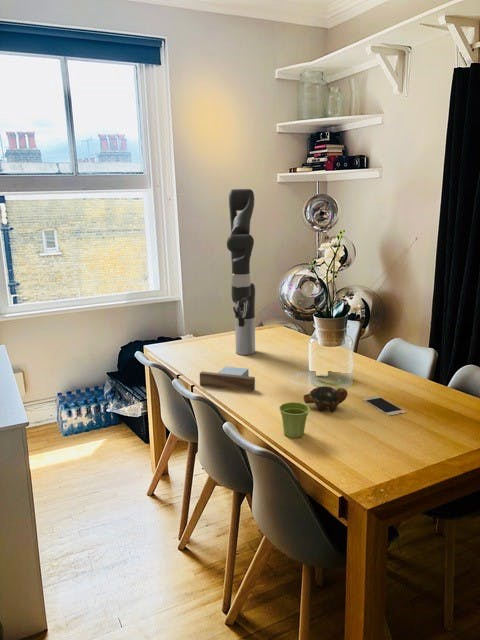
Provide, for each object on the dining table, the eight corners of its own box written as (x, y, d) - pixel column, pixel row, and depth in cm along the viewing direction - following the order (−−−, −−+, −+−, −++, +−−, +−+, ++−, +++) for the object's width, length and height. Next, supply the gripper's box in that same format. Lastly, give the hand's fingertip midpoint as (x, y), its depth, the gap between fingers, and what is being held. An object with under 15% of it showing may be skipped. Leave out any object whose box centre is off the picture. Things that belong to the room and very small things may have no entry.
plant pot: (310, 428, 165) (311, 403, 163) (307, 442, 156) (308, 415, 154) (281, 426, 167) (281, 401, 165) (276, 439, 158) (276, 412, 156)
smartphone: (389, 417, 173) (389, 414, 173) (362, 401, 187) (362, 398, 187) (406, 414, 176) (406, 411, 175) (378, 398, 190) (378, 395, 189)
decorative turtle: (348, 415, 175) (347, 393, 172) (303, 415, 178) (301, 393, 175) (347, 402, 184) (347, 381, 182) (304, 402, 187) (303, 382, 185)
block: (225, 376, 215) (225, 366, 214) (248, 379, 211) (248, 368, 210) (215, 385, 205) (215, 374, 204) (239, 388, 201) (238, 377, 200)
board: (202, 383, 207) (202, 371, 205) (254, 389, 199) (254, 377, 198) (200, 385, 204) (199, 373, 203) (252, 391, 197) (252, 379, 196)
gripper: (238, 281, 216) (238, 321, 220) (226, 286, 204) (227, 329, 208) (255, 282, 213) (255, 323, 218) (244, 287, 201) (244, 330, 206)
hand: (241, 326), depth 213 cm, fingers closed
